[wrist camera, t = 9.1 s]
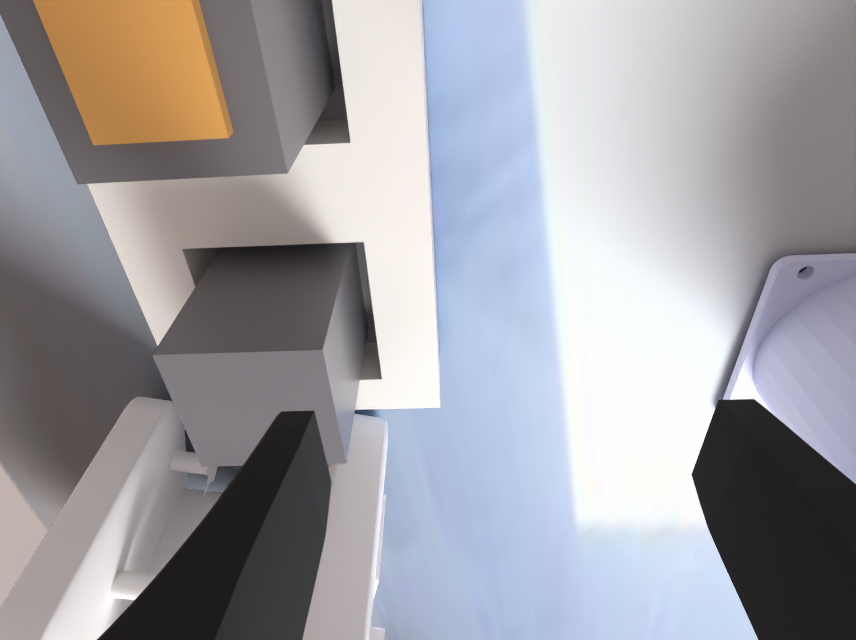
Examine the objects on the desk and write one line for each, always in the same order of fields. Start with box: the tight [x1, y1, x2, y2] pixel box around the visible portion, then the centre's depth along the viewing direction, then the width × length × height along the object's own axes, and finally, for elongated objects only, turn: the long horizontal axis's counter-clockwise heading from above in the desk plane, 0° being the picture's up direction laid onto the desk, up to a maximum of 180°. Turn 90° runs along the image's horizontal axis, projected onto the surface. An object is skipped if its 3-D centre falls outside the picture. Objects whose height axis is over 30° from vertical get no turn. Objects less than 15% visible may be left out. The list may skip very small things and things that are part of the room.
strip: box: [88, 0, 440, 467], centre depth 13 cm, size 22×9×7 cm, turn 3°
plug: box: [0, 0, 335, 184], centre depth 12 cm, size 4×4×6 cm
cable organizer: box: [0, 396, 388, 640], centre depth 22 cm, size 15×11×12 cm
